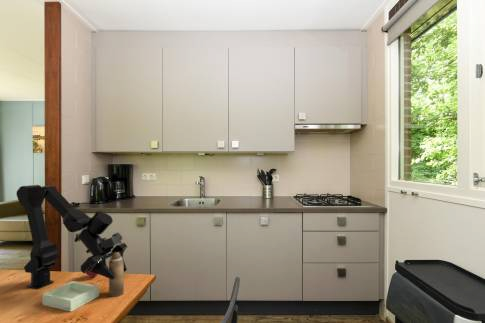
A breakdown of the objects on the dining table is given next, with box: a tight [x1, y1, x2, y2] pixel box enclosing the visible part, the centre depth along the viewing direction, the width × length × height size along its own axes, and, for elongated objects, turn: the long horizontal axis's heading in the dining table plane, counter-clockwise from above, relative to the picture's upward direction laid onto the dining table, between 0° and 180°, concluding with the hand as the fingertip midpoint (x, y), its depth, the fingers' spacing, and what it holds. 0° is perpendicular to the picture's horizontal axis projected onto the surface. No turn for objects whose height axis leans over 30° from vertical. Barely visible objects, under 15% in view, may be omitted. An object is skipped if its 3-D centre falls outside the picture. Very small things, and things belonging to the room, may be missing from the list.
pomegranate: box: [85, 269, 99, 278], centre depth 115 cm, size 6×6×8 cm
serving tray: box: [42, 280, 100, 312], centre depth 96 cm, size 13×11×4 cm
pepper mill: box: [108, 252, 125, 298], centre depth 101 cm, size 5×5×15 cm
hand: (119, 274), depth 101 cm, fingers open, 7 cm apart
